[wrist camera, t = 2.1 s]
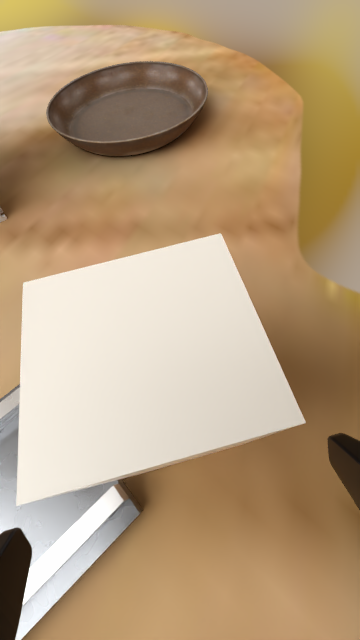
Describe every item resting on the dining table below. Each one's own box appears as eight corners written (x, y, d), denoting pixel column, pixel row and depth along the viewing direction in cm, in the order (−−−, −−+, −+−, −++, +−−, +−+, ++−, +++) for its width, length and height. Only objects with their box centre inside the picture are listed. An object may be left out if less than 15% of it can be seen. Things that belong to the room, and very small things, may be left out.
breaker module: (238, 445, 17) (306, 422, 6) (142, 473, 17) (15, 505, 6) (207, 348, 21) (211, 212, 9) (125, 371, 20) (24, 258, 9)
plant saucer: (110, 79, 44) (103, 51, 41) (230, 95, 38) (232, 65, 35) (27, 151, 36) (11, 124, 33) (163, 186, 30) (159, 157, 27)
